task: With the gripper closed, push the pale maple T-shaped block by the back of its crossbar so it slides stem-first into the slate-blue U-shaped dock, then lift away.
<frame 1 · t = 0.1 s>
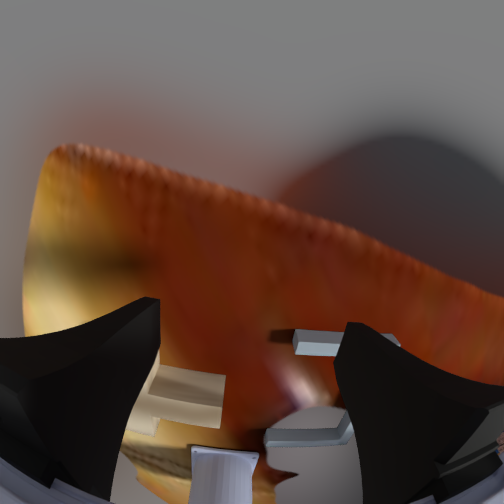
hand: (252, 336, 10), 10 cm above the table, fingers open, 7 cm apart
dock: (328, 393, 24), on the table
t block: (170, 378, 23), on the table
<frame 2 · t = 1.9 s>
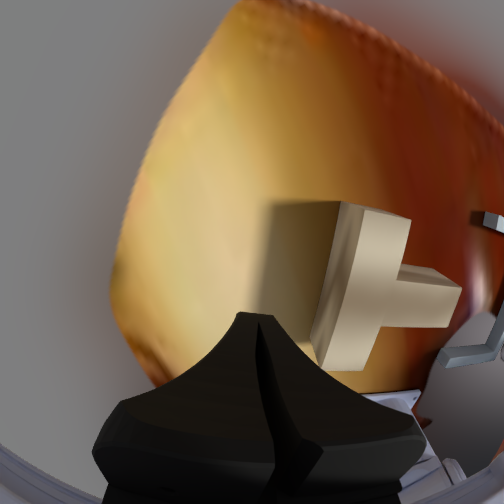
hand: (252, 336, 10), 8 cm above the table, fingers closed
dock: (492, 293, 19), on the table
t block: (376, 280, 18), on the table
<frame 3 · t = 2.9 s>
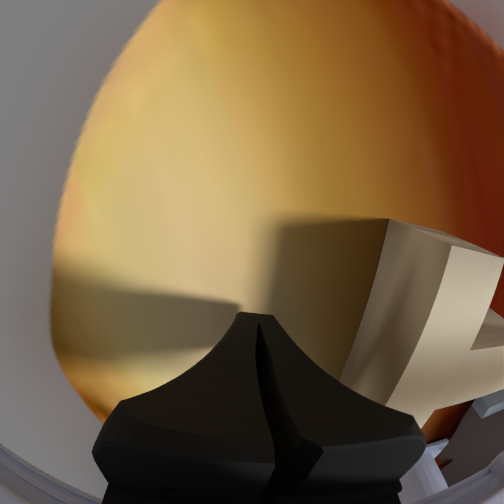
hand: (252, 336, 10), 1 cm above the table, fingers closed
t block: (424, 332, 11), on the table
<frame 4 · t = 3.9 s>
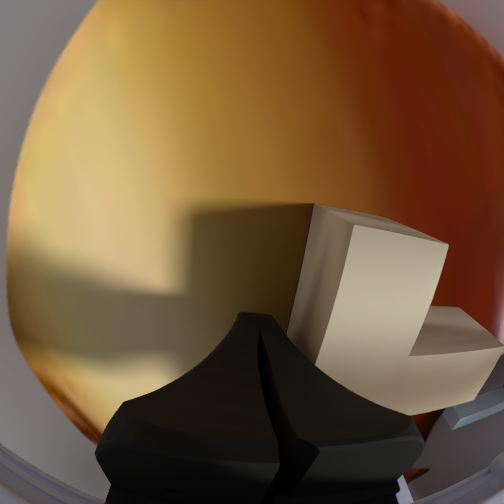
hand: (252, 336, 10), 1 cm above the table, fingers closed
t block: (373, 331, 11), on the table, touching gripper
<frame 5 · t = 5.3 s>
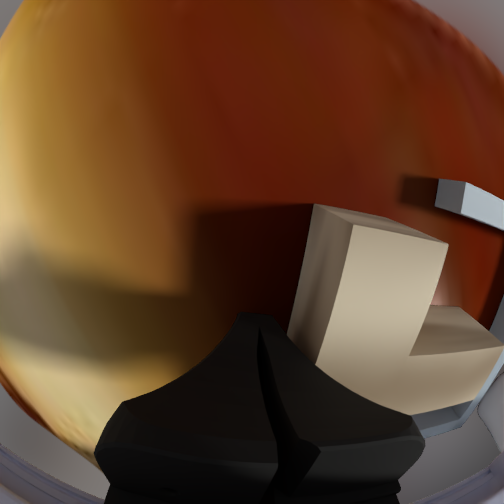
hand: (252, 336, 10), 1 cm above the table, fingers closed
dock: (462, 332, 12), on the table
drinking glass: (495, 387, 14), on the table
t block: (373, 331, 11), on the table, touching gripper
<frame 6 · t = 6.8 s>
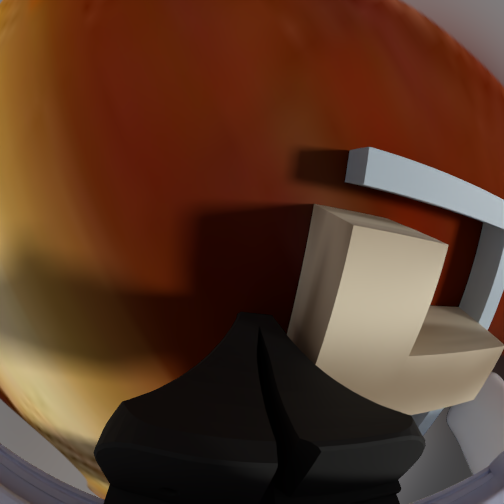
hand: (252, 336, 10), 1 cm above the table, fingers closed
dock: (407, 332, 11), on the table
drinking glass: (469, 395, 14), on the table
t block: (373, 331, 11), on the table, touching dock, gripper
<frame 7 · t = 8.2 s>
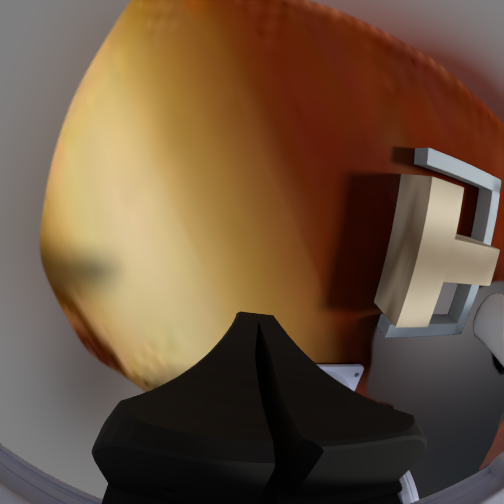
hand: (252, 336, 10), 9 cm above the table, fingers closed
dock: (445, 249, 19), on the table
drinking glass: (485, 312, 21), on the table
t block: (428, 246, 19), on the table
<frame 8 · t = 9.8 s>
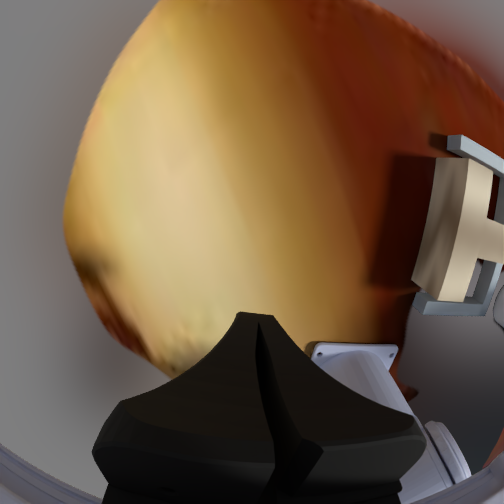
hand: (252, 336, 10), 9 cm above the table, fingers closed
dock: (472, 232, 19), on the table
drinking glass: (503, 298, 21), on the table
t block: (458, 228, 19), on the table
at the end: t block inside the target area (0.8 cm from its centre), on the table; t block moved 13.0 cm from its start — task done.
